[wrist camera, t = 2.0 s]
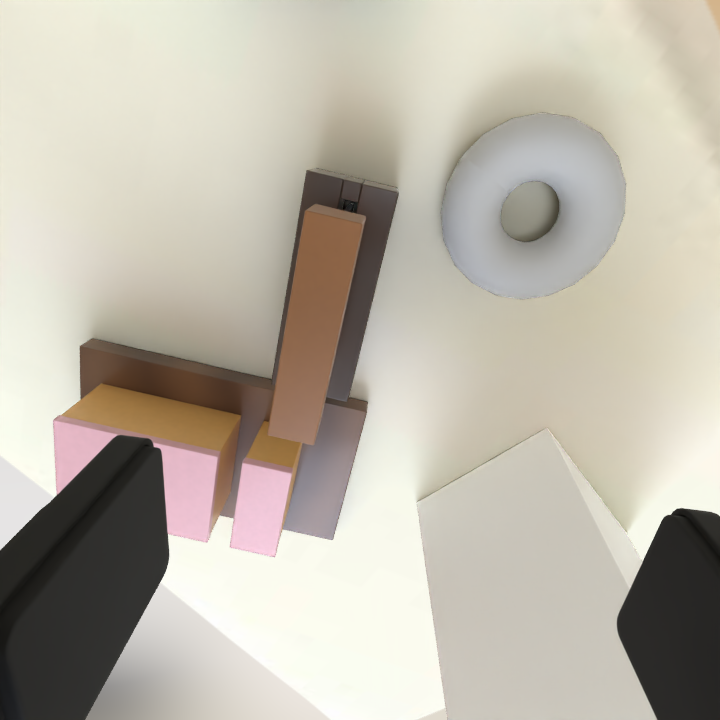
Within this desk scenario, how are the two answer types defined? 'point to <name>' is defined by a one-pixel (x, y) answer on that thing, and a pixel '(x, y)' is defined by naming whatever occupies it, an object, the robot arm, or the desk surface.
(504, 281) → the donut
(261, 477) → the cake slice
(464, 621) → the milk
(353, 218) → the bar
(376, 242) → the cutter stand
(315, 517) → the cutting board
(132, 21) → the desk surface
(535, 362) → the desk surface
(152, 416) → the loaf cake
